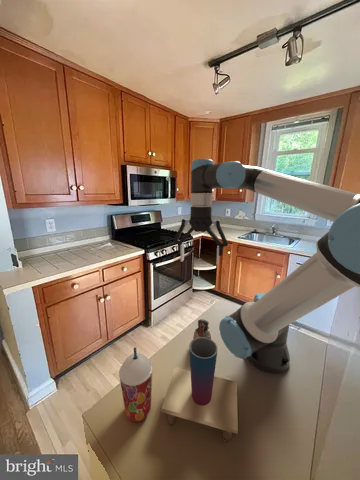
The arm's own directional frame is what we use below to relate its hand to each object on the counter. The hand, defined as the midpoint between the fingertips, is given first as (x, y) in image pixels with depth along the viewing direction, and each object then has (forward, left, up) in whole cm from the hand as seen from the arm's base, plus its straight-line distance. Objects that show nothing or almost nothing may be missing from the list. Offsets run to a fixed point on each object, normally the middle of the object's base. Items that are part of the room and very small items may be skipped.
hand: (199, 262), depth 76 cm
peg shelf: (-6, +30, -32) cm, 44 cm away
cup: (-6, +30, -26) cm, 40 cm away
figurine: (-3, +7, -32) cm, 33 cm away
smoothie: (+10, +34, -32) cm, 48 cm away
